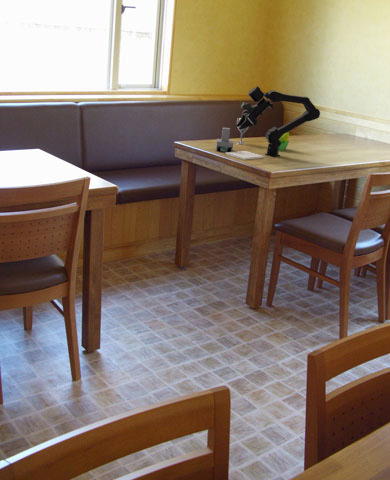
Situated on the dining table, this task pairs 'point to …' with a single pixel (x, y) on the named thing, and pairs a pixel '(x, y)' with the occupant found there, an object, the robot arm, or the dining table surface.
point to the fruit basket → (284, 141)
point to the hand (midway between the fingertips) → (238, 127)
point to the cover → (225, 140)
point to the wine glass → (241, 133)
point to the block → (224, 149)
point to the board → (244, 155)
